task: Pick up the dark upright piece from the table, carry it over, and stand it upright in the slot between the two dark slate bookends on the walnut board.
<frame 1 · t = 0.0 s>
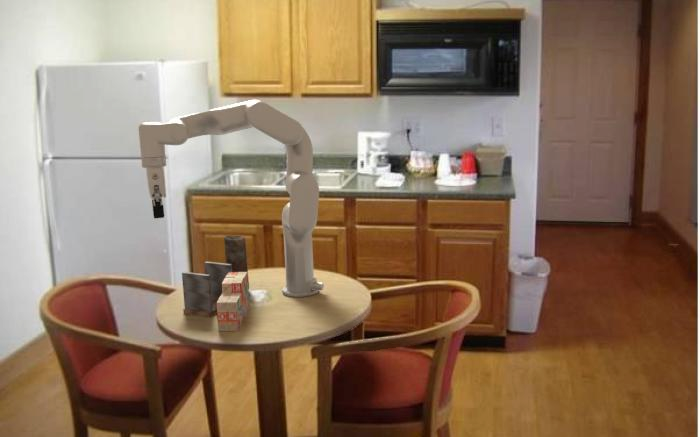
hand: (158, 214, 246), 31 cm above the table, tool pointing down, fingers open, 9 cm apart
stack of blocks: (234, 319, 241), on the table
dark upright piece: (238, 292, 266), on the table
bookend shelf: (210, 308, 251), on the table
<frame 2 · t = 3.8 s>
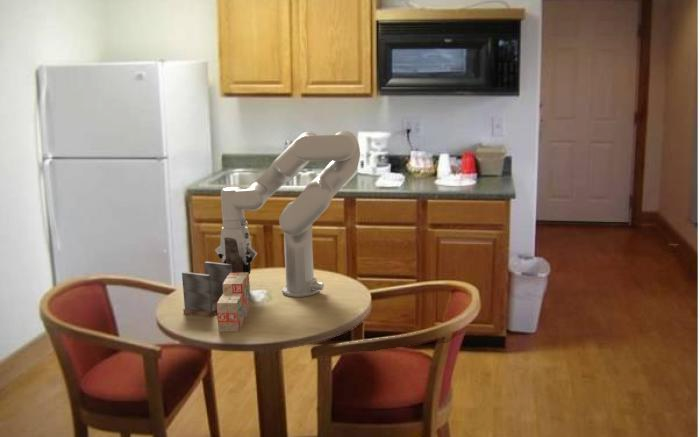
hand: (237, 273, 264), 7 cm above the table, tool pointing down, fingers closed on dark upright piece, 7 cm apart
dark upright piece: (238, 292, 266), on the table, touching gripper
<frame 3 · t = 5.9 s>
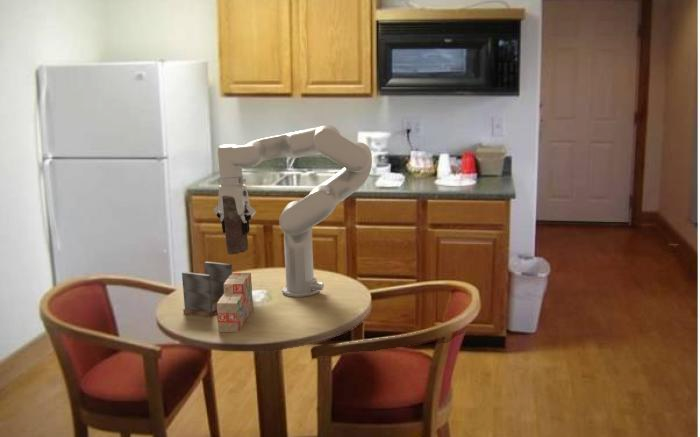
hand: (236, 232, 261), 21 cm above the table, tool pointing down, fingers closed on dark upright piece, 7 cm apart
dark upright piece: (237, 252, 262), point 14 cm above the table, touching gripper
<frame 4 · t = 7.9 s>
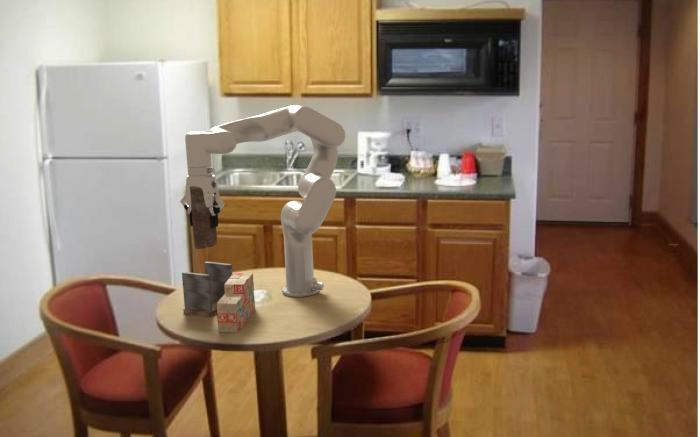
hand: (204, 225, 244), 28 cm above the table, tool pointing down, fingers closed on dark upright piece, 7 cm apart
dark upright piece: (206, 247, 246), point 21 cm above the table, touching gripper
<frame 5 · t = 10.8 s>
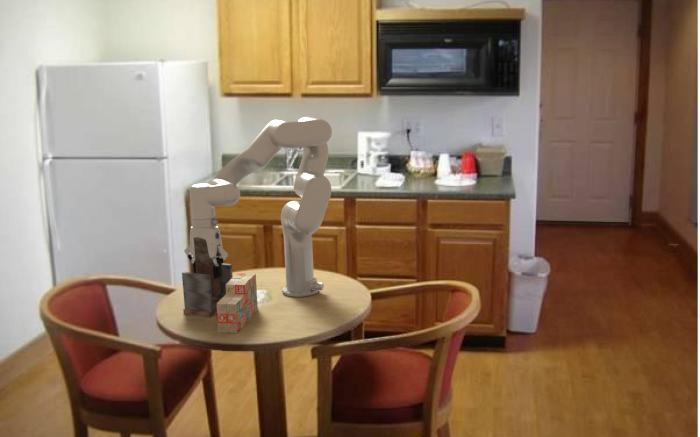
hand: (207, 275, 248), 11 cm above the table, tool pointing down, fingers closed on dark upright piece, 7 cm apart
dark upright piece: (209, 296, 250), point 4 cm above the table, touching gripper
when the fingers open (10 cm above the table, at t = 11.8 s): dark upright piece drops 1 cm, resting on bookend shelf.
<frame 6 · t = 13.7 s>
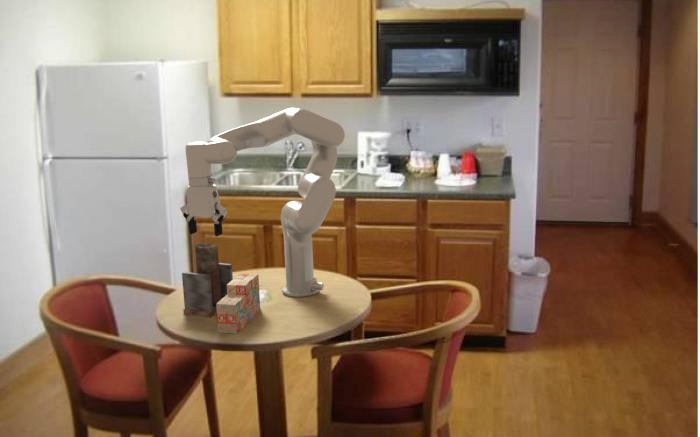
hand: (206, 234, 245), 25 cm above the table, tool pointing down, fingers open, 9 cm apart
dark upright piece: (210, 304, 251), point 1 cm above the table, touching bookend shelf
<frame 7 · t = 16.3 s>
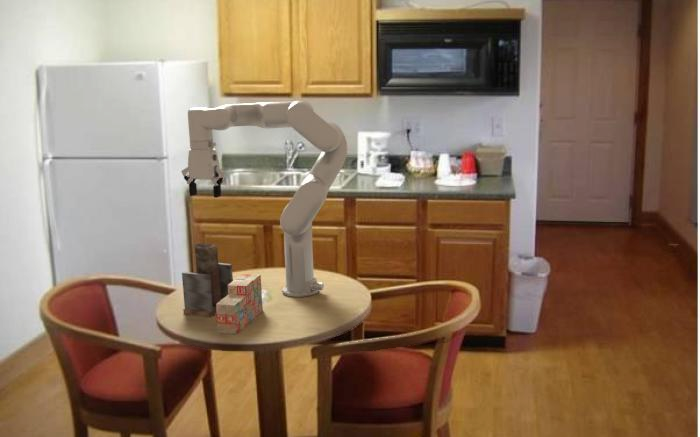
hand: (205, 196, 258), 34 cm above the table, tool pointing down, fingers open, 9 cm apart
at the end: dark upright piece 0.2 cm off-centre on the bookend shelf, point 1.3 cm above the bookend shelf's base; dark upright piece tilted 0°; the gripper is holding nothing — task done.
